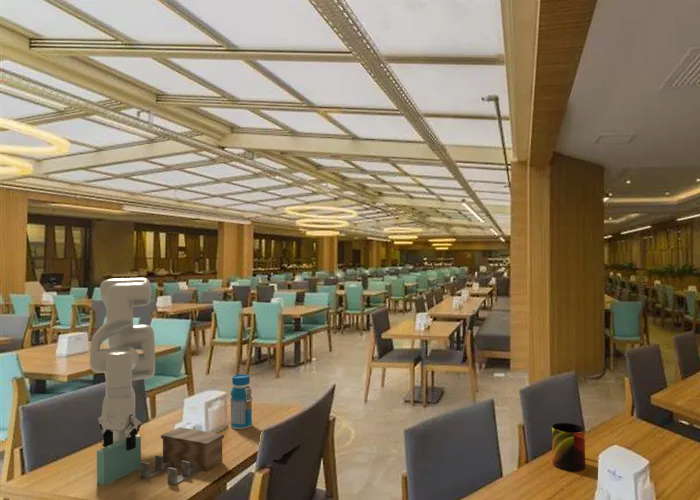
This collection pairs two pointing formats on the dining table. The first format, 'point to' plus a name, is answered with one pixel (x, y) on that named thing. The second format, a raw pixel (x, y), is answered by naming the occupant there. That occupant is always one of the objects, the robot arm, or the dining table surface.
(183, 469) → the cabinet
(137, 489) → the dining table surface
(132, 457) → the green rectangular block
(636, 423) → the dining table surface
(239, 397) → the beverage bottle
